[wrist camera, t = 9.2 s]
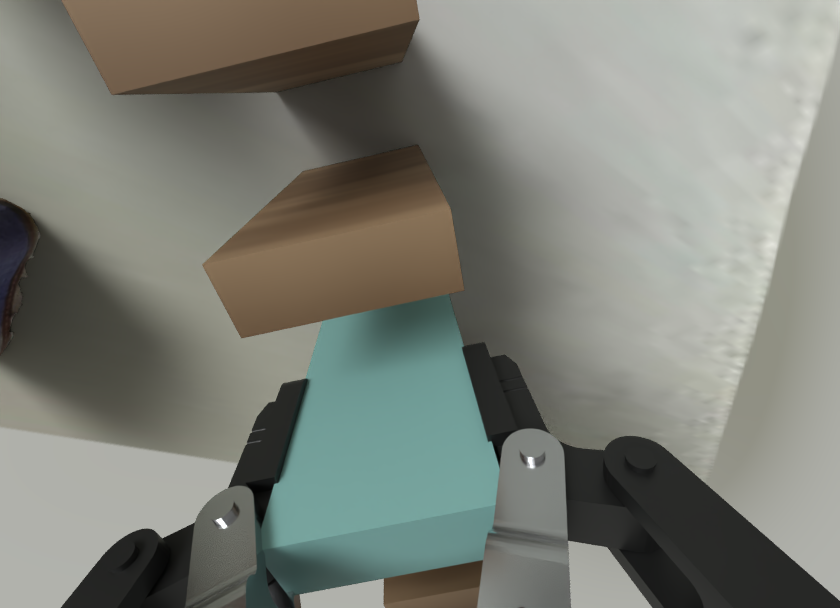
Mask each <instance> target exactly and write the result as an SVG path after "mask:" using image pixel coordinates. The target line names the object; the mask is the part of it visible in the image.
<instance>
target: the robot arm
mask: <svg viewBox="0 0 840 608" xmlns="http://www.w3.org/2000/svg"><path fill="white" fill-rule="evenodd" d="M461 348H462V351H463V355H464V358H465V362H466V365H467V369H468V373H469V376H470V380H471V383H472V387H473V390H474V394H475V398H476V401H477V405H478V408H479V412H480V415H481V419H482V423H483V426H484V430H485V433H486V437H487V440H488V442H491V441H492V444H493V448H494V451H495V455H496V458H497V461H498V465H499V468H500V470H499V479H498V488H497V496H496V505H495V513H494V522H493V527H492V530H489V532H488V534H487V538H486V543H485V550H484V558H483V566H482V573H481V581H480V589H479V597H478V605H477V608H571V599H570V576H569V575H570V574H569V552H568V541H574V542H580V543H586V544H592V545H598V546H604V547H608V549H609V550H610V551H611V553H612V554H613V555H614V557H615V558H616V559H617V561H618V562H619V563H620V565H621V566H622V567H623V569H624V570H625V571H626V573H627V574H628V575H629V577H630V578H631V580H632V581H633V582H634V584H635V585H636V586H637V588H638V589H639V590H640V592H641V593H642V594H643V595H644V597H645V598H646V600H647V601H648V602H649V604H650V605H651V606H652V608H840V601H839V600H838V599H837V598H836V597H835V596H833V595H832V594H831V593H830V592H829V591H828V590H827V589H825V588H824V587H823V586H822V585H821V584H820V583H819V582H817V581H816V580H815V579H814V578H813V577H812V576H810V575H809V574H808V573H807V572H806V571H805V570H804V569H803V568H801V567H800V566H799V565H798V564H797V563H796V562H795V561H793V560H792V559H791V558H790V557H789V556H788V555H787V554H785V553H784V552H783V551H782V550H781V549H780V548H778V547H777V546H776V545H775V544H774V543H773V542H772V541H770V540H769V539H768V538H767V537H766V536H765V535H764V534H762V533H761V532H760V531H759V530H758V529H757V528H756V527H754V526H753V525H752V524H751V523H750V522H748V520H746V519H745V518H744V517H743V516H742V515H741V514H739V513H738V512H737V511H736V510H735V509H734V508H733V507H732V506H730V505H729V504H728V503H727V502H726V501H724V499H722V498H721V497H720V496H719V495H718V494H717V493H716V492H714V491H713V490H712V489H711V488H710V487H709V486H708V485H706V484H705V483H704V482H703V481H702V480H701V479H699V478H698V477H697V476H696V475H695V474H694V473H693V472H691V471H690V470H689V469H688V468H687V467H686V466H685V465H683V464H682V463H681V462H680V461H679V460H678V459H677V458H675V457H674V456H673V455H672V454H671V453H670V452H669V451H667V450H666V449H665V448H664V447H662V446H661V445H659V444H658V443H656V442H654V441H651V440H649V439H646V438H642V437H637V436H624V437H620V438H617V439H615V440H613V441H611V442H610V443H609V444H608V445H607V447H606V448H605V451H603V450H592V449H582V448H576V447H572V446H569V445H566V444H564V443H562V442H560V441H559V440H557V439H556V438H555V437H554V436H553V435H551V434H550V432H549V431H548V430H547V428H546V426H545V424H544V422H543V420H542V418H541V416H540V413H539V411H538V409H537V407H536V405H535V403H534V400H533V398H532V396H531V394H530V392H529V390H528V389H527V385H526V383H525V381H524V379H523V378H522V375H521V373H520V370H519V368H518V366H517V364H516V363H515V362H513V361H512V360H511V359H510V358H508V357H507V356H506V355H501V356H496V357H491V358H490V355H489V353H488V350H487V348H486V345H485V343H484V342H482V343H478V344H473V345H468V346H463V347H461ZM307 381H308V379H302V380H297V381H292V382H288V383H283V384H282V386H281V388H280V391H279V393H278V396H277V399H276V401H275V402H270V403H268V404H267V406H266V407H265V408H264V409H263V410H262V412H261V413H260V414H259V415H258V416H257V419H256V421H255V424H254V426H253V428H252V433H250V436H249V438H248V441H247V445H246V446H245V448H244V450H243V453H242V455H241V458H240V460H239V463H238V465H237V468H236V470H235V473H234V475H233V477H232V480H231V482H230V485H229V487H228V489H225V490H223V491H222V492H220V493H218V494H217V495H215V496H214V497H213V498H212V499H211V500H210V501H209V502H207V504H206V505H205V506H204V507H203V508H202V510H201V511H200V513H199V514H198V516H197V518H196V521H195V523H193V524H191V525H189V526H187V527H185V528H183V529H181V530H179V531H177V532H175V533H173V534H171V535H169V536H167V537H164V538H161V537H160V536H159V535H158V534H157V533H156V532H155V531H154V530H152V529H141V530H137V531H135V532H132V533H130V534H128V535H127V536H125V537H124V538H122V539H121V540H119V541H118V542H117V543H115V544H114V545H113V546H112V547H111V548H110V549H109V550H108V551H107V552H106V553H105V554H104V555H103V556H102V557H101V559H100V560H99V561H98V562H97V564H96V565H95V566H94V567H93V568H92V570H91V571H90V572H89V573H88V575H87V576H86V577H85V578H84V580H83V581H82V582H81V583H80V585H79V586H78V587H77V588H76V590H75V591H74V592H73V593H72V595H71V596H70V597H69V598H68V600H67V601H66V602H65V603H64V604H63V606H62V607H61V608H301V603H300V596H299V594H298V595H295V593H294V592H293V591H291V592H285V591H284V589H283V588H282V587H281V586H280V584H279V583H278V582H277V580H276V579H275V578H274V576H273V575H272V574H271V573H270V571H269V570H268V569H267V567H266V560H265V553H264V551H263V550H262V535H261V527H262V524H263V521H264V517H265V514H266V510H267V507H268V504H269V500H270V497H271V494H272V490H273V487H274V484H277V483H278V482H279V479H280V475H281V472H282V468H283V465H284V461H285V458H286V454H287V451H288V447H289V444H290V440H291V437H292V433H293V430H294V426H295V423H296V419H297V416H298V412H299V409H300V405H301V402H302V398H303V395H304V391H305V388H306V384H307Z"/></svg>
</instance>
